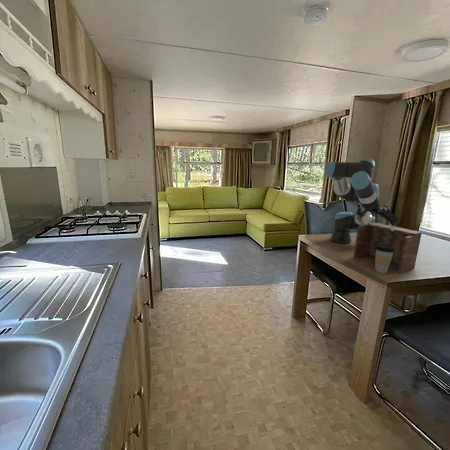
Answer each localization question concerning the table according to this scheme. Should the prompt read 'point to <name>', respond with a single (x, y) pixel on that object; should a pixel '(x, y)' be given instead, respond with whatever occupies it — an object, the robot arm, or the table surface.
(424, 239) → the table surface
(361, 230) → the walnut box
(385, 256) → the coffee cup
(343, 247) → the table surface
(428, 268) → the table surface
